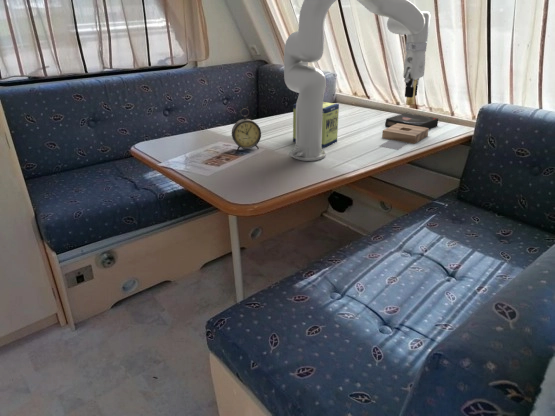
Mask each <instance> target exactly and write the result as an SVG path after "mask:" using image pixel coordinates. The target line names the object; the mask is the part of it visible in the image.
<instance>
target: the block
mask: <svg viewBox="0 0 555 416" xmlns="http://www.w3.org/2000/svg"><path fill="white" fill-rule="evenodd" d="M429 131H430V129H429V128H425V127H418V126H412V125H405V124H399V123H397V124H395V125H393V126H391V127H386V128H384V129H383V130H382V135H381V138H382V139H385V140H392V141H398V142H403V143H409V144H414V145H415V144H416V143H418V142H420V141H421V140H423V139H425V138H426V137H428V136H429Z"/></svg>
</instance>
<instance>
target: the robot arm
mask: <svg viewBox="0 0 555 416" xmlns="http://www.w3.org/2000/svg"><path fill="white" fill-rule="evenodd" d="M356 1H357V2H358V3H360V4H361V5H362V6H363V7H364V8H365V9H366V10H368V11H369V12H370V13H372V14H374V15H377V16H381V17H385V18H388V19H387V22H386V25H387V26H386V27H387V29H388V30H389V32H390V33H392V34H395V35H406V43H405V52H406V54H405V59H404V66H403V74H402V76H403V79H404V83H405V85H404V86H405V91H404V97H405V98H407V97H410V98H412V97H413V91H414V87H413V84H414V80H415V79H417V80H416V89H415V97H416V96H417V95H418V86H419V81H420V79H421V78H423V77H424V76H425V66H426V52H427V45H428V37H429V30H430V20H431V14H430V12H429V11H421V10H420V9H419V8H418V7H417V6H416V5H415V4H414V3H413V2H411V1H409V0H356ZM336 2H337V0H303V2H302V4H301V7H300V11H299V16H298V17H299V18H298V28H297V29H298V30H297V31H295V32H294V31H293V32H292V33H290V35H289V36H288V37H287V38H286V41H285V43H284V50H283V53H284V54H283V55H284V56H283V64H284V65H283V76H284V77H283V79H284V83H285V85H286V87H287V89H289V90H290V91H292V92H295V93H298V97H297V100H296V103H295V104H296V142H295V145H294V149H293V150H291V151H289V152H288V156H289V157H292V158H294V159H295V160H298V161H303V162H314V161H320V160H322V159H324V158H326V151H325V150H323V149H322V148H321V146H322V111H323V102H324V96H325V92H326V87H327V86H326V85H327V79H326V76H325V74H324V72H323V71H322V70H320V69H319V68H317V67H316V66H315V67H314V66H309V63H310V64H311V63H313V64H314V63H317V62H319V61H320V60H321V59H322V57H323V55H324V49H325V26H326V25H325V24H326V18H327V14H328V12H329V9H331V7H332V5H333V4H334V3H336ZM409 77H411V78H412V79H409ZM409 80H411V81H409Z"/></svg>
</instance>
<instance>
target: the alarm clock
mask: <svg viewBox="0 0 555 416" xmlns="http://www.w3.org/2000/svg"><path fill="white" fill-rule="evenodd" d="M243 110H247V115H243V114H242V111H243ZM239 113H240V116H242V117H243V119H239V120H238V121H236V122H235V123H234V125H233V126H232V127H231V128H232V129H231V137H232V138H231V139H232V140H233V141H234V142H235V143H234V144H235V145H237V148H236V150H235V151H236V152H238V151H239V150H240V148H241V149H244V150H247V149H252V148H254V147H255V148H257V149H258V150H259V149H260V147H259V146H258V144H259V142H260V140H261V139H262V138H261V137H262V131H261V128H260V126H259V125H258V123H257V122H255V121H254V120H252V119H249V118H247V117H248V116H249V115H250V111H249V109H248V108H242V109H241V110H240V111H239Z"/></svg>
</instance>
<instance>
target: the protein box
mask: <svg viewBox="0 0 555 416" xmlns="http://www.w3.org/2000/svg"><path fill="white" fill-rule="evenodd" d="M292 106H293V108H292V109H293V110H292V113H293V115H292V117H293V119H292V124H293V125H292V129H293V131H292V132H293V133H292V142H293V143H296V103H294V104H293V105H292ZM339 111H340V104H339V103H335V102H334V103H333V102H327V101H326V102H325V101H323V111H322V146H321V149H325V148H327V147H329V146H331V145H333V143H334V144H336V143H337V142H338V132H339V131H338V130H339V129H338V128H339ZM335 142H336V143H335Z"/></svg>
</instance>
